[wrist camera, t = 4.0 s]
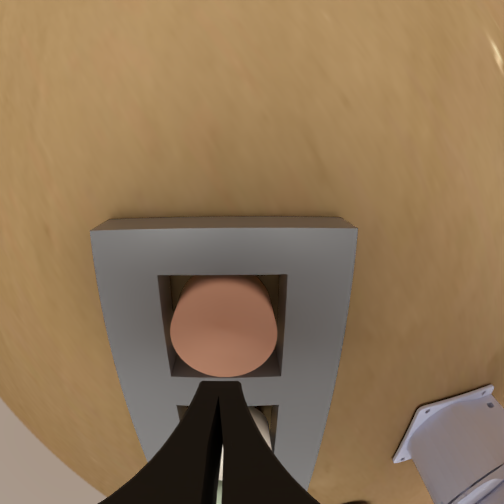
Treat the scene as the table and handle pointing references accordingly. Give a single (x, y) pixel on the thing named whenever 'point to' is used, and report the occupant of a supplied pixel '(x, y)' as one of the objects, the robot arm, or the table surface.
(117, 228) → the button board
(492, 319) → the table surface
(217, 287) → the button terracotta
